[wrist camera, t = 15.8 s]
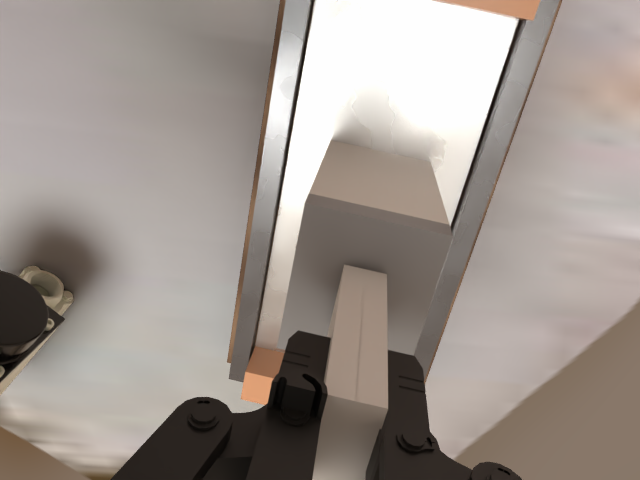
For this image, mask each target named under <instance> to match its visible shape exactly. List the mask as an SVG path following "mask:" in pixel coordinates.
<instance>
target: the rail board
mask: <svg viewBox="0 0 640 480" xmlns="http://www.w3.org/2000/svg"><path fill="white" fill-rule="evenodd" d="M561 3H562V0H280V5H279V11H278V18H277V25H276V32H275V39H274V46H273V52H272V59H271V66H270V73H269V80H268V86H267V93H266V100H265V107H264V114H263V121H262V127H261V134H260V141H259V148H258V155H257V162H256V168H255V175H254V182H253V189H252V196H251V202H250V209H249V216H248V223H247V230H246V237H245V243H244V250H243V257H242V264H241V271H240V278H239V284H238V291H237V298H236V305H235V312H234V319H233V325H232V332H231V339H230V346H229V353H228V359H227V362H228V363H231V367H230V374H229V379H232V380H236V381H240V382H244V383H243V389H242V395H241V399H242V400H247V401H251V402H255V403H259V404H264V405H266V404H267V403H268V399H269V394H270V389H271V384H272V380H273V379H274V377H275V376H276V375H277V374H278V373H279V370H280V366H281V363H282V360H283V356H284V353H285V350H283V349H279V348H277V343H278V338H279V333H280V328H281V323H282V318H283V312H284V307H285V302H286V297H287V292H288V287H289V281H290V276H291V271H292V266H293V261H294V256H295V251H296V245H297V240H298V235H299V230H300V225H301V220H302V214H303V209H304V204H305V201H306V199H307V196H308V194H309V191H310V189H311V186H312V184H313V182H314V179H315V177H316V174H317V172H318V169H319V167H320V165H321V162H322V160H323V157H324V155H325V152H326V150H327V147H328V145H329V143H330V140H332V141H337V142H341V143H346V144H350V145H355V146H360V147H364V148H369V149H373V150H378V151H382V152H387V153H391V154H396V155H400V156H405V157H409V158H414V159H418V160H423V161H427V162H431V164H432V168H433V171H434V174H435V178H436V181H437V184H438V188H439V191H440V194H441V198H442V201H443V205H444V208H445V211H446V215H447V218H448V221H449V225H450V228H451V231H452V235H453V238H452V241H451V244H450V247H449V250H448V253H447V256H446V259H445V262H444V265H443V268H442V270H441V273H440V276H439V279H438V282H437V285H436V288H435V291H434V294H433V297H432V300H431V303H430V306H429V309H428V312H427V315H426V318H425V321H424V324H423V327H422V330H421V333H420V336H419V339H418V342H417V345H416V348H415V351H414V354H413V356H415V357H416V358H417V360H418V362H419V363H420V365H421V366H422V368H423V373H424V384H425V382H426V379H427V376H428V374H429V371H430V368H431V365H432V363H433V360H434V357H435V354H436V351H437V349H438V346H439V343H440V340H441V337H442V335H443V332H444V329H445V326H446V323H447V321H448V318H449V315H450V312H451V310H452V307H453V304H454V301H455V298H456V296H457V293H458V290H459V287H460V284H461V282H462V279H463V276H464V273H465V270H466V268H467V265H468V262H469V259H470V257H471V254H472V251H473V248H474V245H475V243H476V240H477V237H478V234H479V231H480V229H481V226H482V223H483V220H484V217H485V215H486V212H487V209H488V206H489V204H490V201H491V198H492V195H493V192H494V190H495V187H496V184H497V181H498V178H499V176H500V173H501V170H502V167H503V164H504V162H505V159H506V156H507V153H508V151H509V148H510V145H511V142H512V139H513V137H514V134H515V131H516V128H517V125H518V123H519V120H520V117H521V114H522V111H523V109H524V106H525V103H526V100H527V98H528V95H529V92H530V89H531V86H532V84H533V81H534V78H535V75H536V72H537V70H538V67H539V64H540V61H541V58H542V56H543V53H544V50H545V47H546V45H547V42H548V39H549V36H550V33H551V31H552V28H553V25H554V22H555V19H556V17H557V14H558V11H559V8H560V5H561Z"/></svg>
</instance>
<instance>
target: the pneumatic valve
mask: <svg viewBox="0 0 640 480" xmlns="http://www.w3.org/2000/svg"><path fill="white" fill-rule="evenodd" d="M73 300H74V299H73V294H72V293H71V292H69V291H64V286H63V283H62V282H61V281H60V279H59V278H58V277H56V276H55V275H54V274H52V273H50V272H47V271H43V270H40V269H39V268H38V267H37V266H28V267H26V268H25V269H24V270H23V271H22V273H21V274H20V275H19V277H18V276H16V275H13V274H10V273H7V272H4V271H1V270H0V395H1V394H2V393H3V392H4V391H5V389H6V388H7V387H8V386H9V385H10V384H11V382H12V381H13V380H14V379H15V378H16V376H17V375H18V374H19V373H20V372H21V371H22V369H23V368H24V367H25V366H26V365H27V363H28V362H29V361H30V360H31V359H32V358H33V356H34V355H35V354H36V353H37V352H38V350H39V349H40V348H41V347H42V346H43V345H44V343H45V342H46V341H47V340H48V339H49V337H50V336H51V335H52V334H53V333H54V332H55V330H56V329H57V328H58V327H59V326H60V324H61V323H62V322H63V321H64V320H65V319H64V318H63V317H62V315H63V313H64V312H65V311H66V310H67V309H68V307H69V306H70V305H71V304H72V303H73Z"/></svg>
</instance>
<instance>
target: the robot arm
mask: <svg viewBox="0 0 640 480" xmlns="http://www.w3.org/2000/svg"><path fill="white" fill-rule="evenodd" d="M312 479H313V480H522V479H521V478H520V477H519V476H518V475H517V474H515V473H514V472H513V471H512V470H511V469H509V468H507V467H504V466H503V465H501V464H497V463H493V462H484V463H479V464H478V465H477V466H475V467H474V468H473V470H471V469H469V468H467V467H465V466H463V465H461V464H459V463H457V462H455V461H454V460H452V459H451V458H449V457H447V456H446V455H445V454H444V453H443V452H441V451H440V448H439V445H438V442H437V440H436V438H435V437H434V436H433V435H432V434H431V432H430V430H429V420H428V411H427V401H426V394H425V384H424V373H423V368H422V366H421V365H420V363H419V362H418V360H417V358H416V357H415V356H413V355H409V354H404V353H400V352H396V351H391V350H388V338H387V274H384V273H380V272H375V271H371V270H366V269H362V268H358V267H353V266H349V265H344V267H343V272H342V276H341V280H340V284H339V288H338V292H337V296H336V300H335V305H334V309H333V313H332V317H331V321H330V325H329V329H328V335H327V337H325V336H321V335H317V334H312V333H308V332H304V331H299V330H298V331H297V332H296V333H295V334H293V335H292V336H291V337H290V338H289V339H288V342H287V346H286V349H285V353H284V356H283V360H282V363H281V366H280V370H279V373H278V374H277V375H276V376H275V377H274V379H273V380H272V384H271V389H270V394H269V399H268V403H267V404H266V405H265V406H263V407H262V408H260V409H258V410H255V411H252V412H246V413H232V412H231V411H230V409H229V408H228V406H227V405H226V404H224V403H222V402H221V401H219V400H217V399H213V398H210V397H196V398H193V399H190V400H187V401H185V402H184V403H182V404H181V405H180V406H178V407H177V408H176V409H175V411H174V412H173V413H172V414H171V415H170V416H169V417H168V418H167V419H166V420H165V421H164V422H163V424H162V425H161V426H160V427H159V428H158V429H157V430H156V431H155V432H154V433H153V434H152V435H151V436H150V438H149V439H148V440H147V441H146V442H145V443H144V444H143V445H142V446H141V447H140V448H139V449H138V450H137V452H136V453H135V454H134V455H133V456H132V457H131V458H130V459H129V460H128V461H127V462H126V463H125V464H124V466H123V467H122V468H121V469H120V470H119V471H118V472H117V473H116V474H115V475H114V476H113V477H112V479H111V480H312Z"/></svg>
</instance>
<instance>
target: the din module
mask: <svg viewBox="0 0 640 480" xmlns="http://www.w3.org/2000/svg"><path fill="white" fill-rule="evenodd" d="M452 238H453V235H452V231H451V228H450V225H449V221H448V218H447V215H446V211H445V208H444V205H443V201H442V198H441V194H440V191H439V188H438V184H437V181H436V178H435V174H434V171H433V168H432V164H431V162H427V161H423V160H418V159H414V158H409V157H405V156H400V155H396V154H391V153H387V152H382V151H378V150H373V149H369V148H364V147H360V146H355V145H350V144H346V143H341V142H337V141H332V140H330V143H329V145H328V147H327V150H326V152H325V155H324V157H323V160H322V162H321V165H320V167H319V169H318V172H317V174H316V177H315V179H314V182H313V184H312V186H311V189H310V191H309V194H308V196H307V199H306V201H305V204H304V209H303V214H302V220H301V225H300V230H299V235H298V240H297V245H296V251H295V256H294V261H293V266H292V271H291V276H290V281H289V287H288V292H287V297H286V302H285V307H284V312H283V318H282V323H281V328H280V333H279V338H278V343H277V348H279V349H283V350H285V349H286V346H287V342H288V339H289V338H290V337H291V336H292V335H293V334H295V333H296V332H297V331H298V330H299V331H304V332H308V333H312V334H317V335H321V336H325V337H327V335H328V329H329V325H330V321H331V317H332V313H333V309H334V305H335V300H336V296H337V292H338V288H339V284H340V280H341V276H342V272H343V267H344V265H349V266H353V267H358V268H362V269H366V270H371V271H375V272H380V273H384V274H387V338H388V350H391V351H396V352H400V353H404V354H409V355H413V354H414V351H415V348H416V345H417V342H418V339H419V336H420V333H421V330H422V327H423V324H424V321H425V318H426V315H427V312H428V309H429V306H430V303H431V300H432V297H433V294H434V291H435V288H436V285H437V282H438V279H439V276H440V273H441V270H442V268H443V265H444V262H445V259H446V256H447V253H448V250H449V247H450V244H451V241H452Z"/></svg>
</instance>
